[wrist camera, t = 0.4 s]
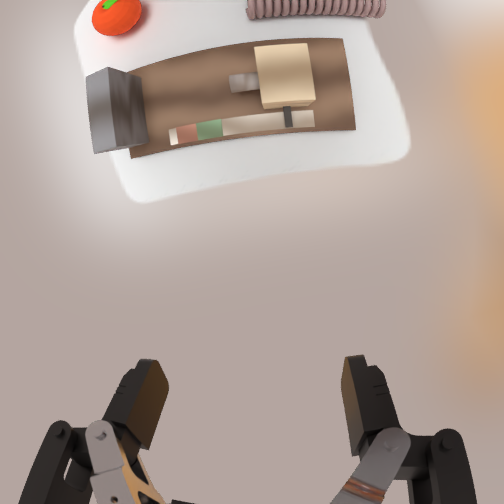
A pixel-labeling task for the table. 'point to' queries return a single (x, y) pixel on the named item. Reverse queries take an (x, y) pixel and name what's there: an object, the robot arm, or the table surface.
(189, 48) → the table surface
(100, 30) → the clementine
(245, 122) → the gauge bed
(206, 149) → the table surface
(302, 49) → the block
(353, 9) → the coil
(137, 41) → the table surface
